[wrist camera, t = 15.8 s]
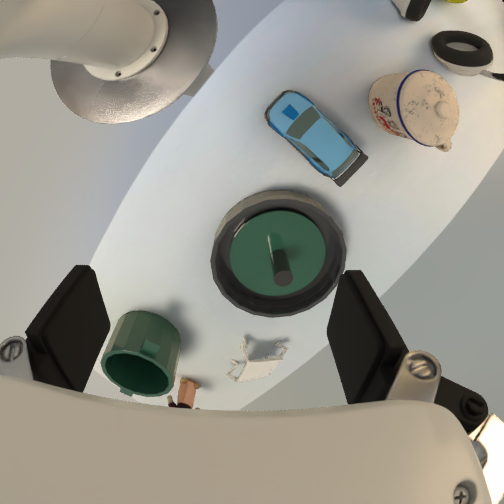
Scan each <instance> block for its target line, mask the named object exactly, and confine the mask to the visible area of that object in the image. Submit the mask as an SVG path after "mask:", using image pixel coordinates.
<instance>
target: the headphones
mask: <svg viewBox="0 0 504 504" xmlns="http://www.w3.org/2000/svg"><path fill="white" fill-rule="evenodd" d="M502 1H503V2H504V0H502ZM393 2H394V3H395V4H396V6H397V7H398V8H399V10H400V12H401V15H402V16H403V17H404V18H407V19H409V20H411V21H419V20H420V19H421V18H422V17H423V16H424V14H425V12H426V10H427V8H428V6H429V4H430V2H431V0H393ZM432 50H433V52H434V54H435V56H436V57H437V58H438V59H439V60H440V61H441V62H443V63H444V64H446V66H447V67H448V68H449V69H450V70H451V71H452V72H454V73H456V74H458V75H462V76H475V75H478V74H481V75H484V76H486V77H490V78H493V79H496V80H500V81H504V74H498V73H492V72H489V71H486V70H483V69H486V68H488V67H490V66H491V65H492V62H493V53H492V49H491V47H490V45H489V44H488V43H487V42H486V41H485V40H484V39H482V38H481V37H479V36H477V35H474V34H471V33H468V32H463V31H442V32H440V33H438V34H436V35H435V36H434V37H433V40H432Z"/></svg>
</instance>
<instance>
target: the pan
mask: <svg viewBox="0 0 504 504" xmlns="http://www.w3.org/2000/svg"><path fill="white" fill-rule="evenodd" d="M273 210H288V211H293V212H296V213H299V214H302V215H303V216H305V217H307V218H308V219H310V220H311V221H312V222H313V223H314V224H315V225H316V226H317V227H318V229H319V230H320V232H321V234H322V236H323V238H324V241H325V246H326V254H325V260H324V264H323V266H322V268H321V270H320V272H319V274H318V275H317V276H316V278H315V279H314V280H313V281H312V282H311V283H309V284H308V285H307V286H305V287H304V288H302V289H300V290H298V291H296V292H294V293H291V294H287V295H281V296H269V295H263V294H259V293H256V292H254V291H252V290H250V289H248V288H247V287H246V286H244V285H243V284H242V283H241V282H240V281H239V280H238V279H237V277H236V276H235V274H234V272H233V270H232V267H231V263H230V248H231V243H232V241H233V238H234V236H235V234H236V233H237V231H238V230H239V229H240V227H241V226H242V225H243V224H244V223H246V222H247V221H248V220H249V219H251V218H253V217H254V216H256V215H259V214H261V213H264V212H267V211H273ZM345 261H346V246H345V242H344V238H343V234H342V232H341V230H340V229H339V227H338V226H337V225H336V223H335V222H334V220H333V219H332V218H331V216H330V215H329V214H328V212H327V211H326V210H325V208H324V207H323V206H321V205H320V204H319V203H317V202H316V201H315V200H313V199H311V198H310V197H308V196H306V195H303V194H301V193H297V192H293V191H287V190H271V191H265V192H261V193H257V194H254V195H252V196H250V197H248V198H246V199H244V200H242V201H241V202H239V203H238V204H237V205H235V206H234V207H233V208H232V209H231V210H230V211H229V212H228V213H227V214H226V216H225V217H224V218H223V220H222V221H221V223H220V225H219V227H218V229H217V231H216V235H215V239H214V244H213V249H212V254H211V260H210V262H211V268H212V274H213V279H214V281H215V283H216V285H217V286H218V288H219V290H220V292H221V293H222V295H223V296H224V297H225V298H226V299H228V300H229V301H230V302H231V303H232V304H233V305H234V306H236V307H237V308H240V309H242V310H244V311H246V312H248V313H251V314H253V315H258V316H265V317H272V318H273V317H284V316H292V315H295V314H298V313H301V312H303V311H306V310H309V309H311V308H312V307H314V306H315V305H317V304H318V303H320V302H321V301H323V300H324V299H325V298H326V297H327V296H328V295H329V294H330V293H331V292H332V290H333V289H334V288H335V287H336V286H337V284H338V282H339V278H340V275H341V274H342V273H343V271H344V268H345Z"/></svg>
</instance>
